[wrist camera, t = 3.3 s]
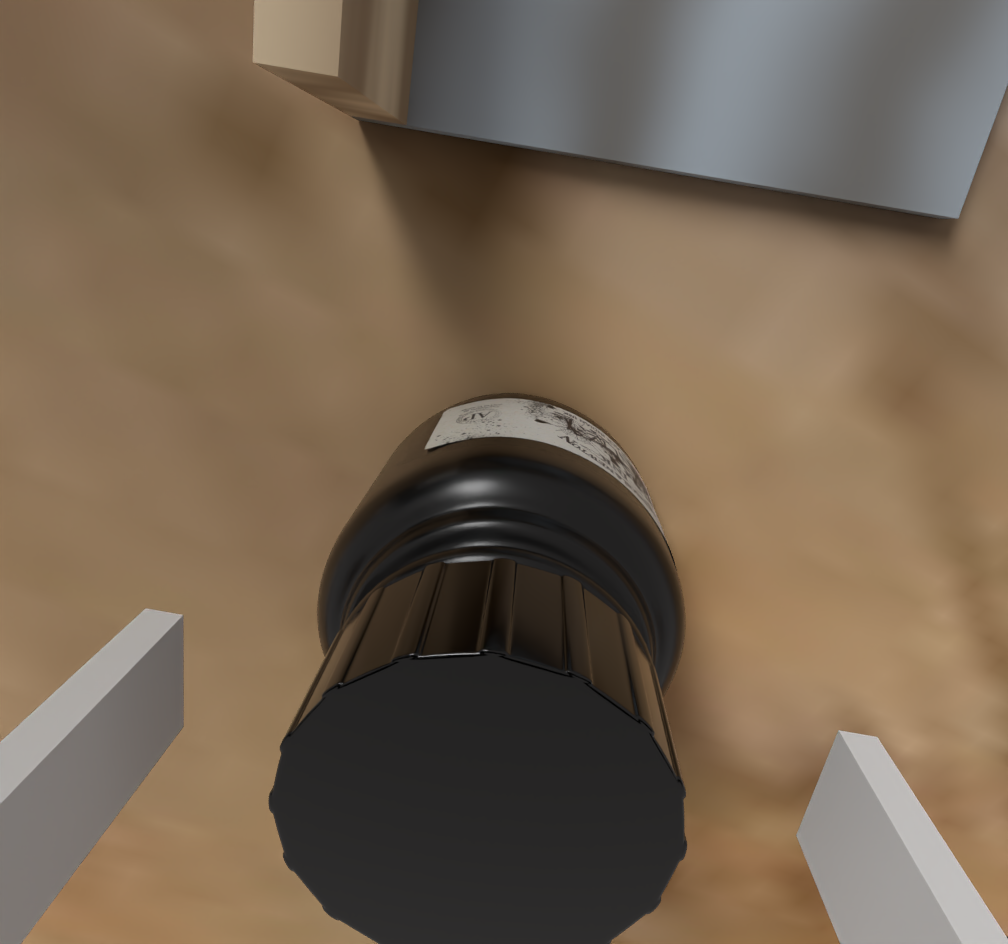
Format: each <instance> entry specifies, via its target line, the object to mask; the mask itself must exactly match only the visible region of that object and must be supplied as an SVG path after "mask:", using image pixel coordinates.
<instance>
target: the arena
mask: <svg viewBox="0 0 1008 944" xmlns="http://www.w3.org/2000/svg"><path fill="white" fill-rule="evenodd" d="M253 63H255V64H257V65H259V66H260V67H262V68H264V69H266V70H268V71H270V72H271V73H273V74H275V75H277V76H279V77H280V78H282V79H284V80H286V81H288V82H290V83H291V84H293V85H295V86H297V87H299V88H300V89H302V90H304V91H306V92H308V93H309V94H311V95H313V96H315V97H317V98H319V99H320V100H322V101H324V102H326V103H328V104H329V105H331V106H333V107H335V108H337V109H339V110H340V111H342V112H344V113H346V114H348V115H349V116H351V117H353V118H355V119H357V120H361V121H366V122H372V123H378V124H384V125H390V126H396V127H402V128H408V129H414V130H420V131H426V132H431V133H437V134H443V135H449V136H455V137H461V138H467V139H473V140H479V141H485V142H491V143H496V144H502V145H508V146H514V147H520V148H526V149H532V150H538V151H544V152H550V153H556V154H561V155H567V156H573V157H579V158H585V159H591V160H597V161H603V162H609V163H615V164H621V165H626V166H632V167H638V168H644V169H650V170H656V171H662V172H668V173H674V174H680V175H686V176H691V177H697V178H703V179H709V180H715V181H721V182H727V183H733V184H739V185H745V186H751V187H756V188H762V189H768V190H774V191H780V192H786V193H792V194H798V195H804V196H810V197H816V198H821V199H827V200H833V201H839V202H845V203H851V204H857V205H863V206H869V207H875V208H880V209H886V210H892V211H898V212H904V213H910V214H916V215H922V216H928V217H934V218H940V219H958V218H959V215H960V212H961V210H962V207H963V204H964V202H965V199H966V196H967V193H968V191H969V188H970V185H971V183H972V180H973V177H974V174H975V172H976V169H977V166H978V164H979V161H980V158H981V155H982V153H983V150H984V147H985V145H986V142H987V139H988V136H989V134H990V131H991V128H992V126H993V123H994V120H995V117H996V115H997V112H998V109H999V107H1000V104H1001V101H1002V98H1003V96H1004V93H1005V90H1006V88H1007V85H1008V0H254V28H253Z"/></svg>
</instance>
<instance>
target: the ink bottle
mask: <svg viewBox="0 0 1008 944" xmlns="http://www.w3.org/2000/svg"><path fill="white" fill-rule="evenodd" d="M317 618H318V630H319V637H320V642H321V646H322V650H323V653H324V656H325V658H324V660H323V662H322V664H321V666H320V668H319V670H318V672H317V674H316V676H315V678H314V680H313V682H312V684H311V686H310V688H309V690H308V692H307V693H306V695H305V697H304V699H303V701H302V703H301V705H300V707H299V709H298V711H297V713H296V715H295V717H294V719H293V721H292V723H291V725H290V727H289V729H288V731H287V733H286V735H285V737H284V739H283V741H282V743H281V745H280V751H281V757H280V760H279V764H278V768H277V773H276V777H275V782H274V786H273V788H272V790H271V792H270V794H269V809H270V811H271V812H272V813H273V815H274V819H275V823H276V826H277V830H278V833H279V837H280V840H281V844H282V847H283V850H284V853H283V858H284V861H285V863H286V865H287V866H288V868H289V869H290V870H291V871H293V872H295V873H296V874H297V876H298V877H299V878H300V879H301V880H302V882H303V883H304V884H305V885H306V887H307V888H308V889H309V890H310V891H311V893H312V894H313V895H314V896H315V897H316V898H317V900H318V901H319V902H320V903H321V904H322V907H323V909H324V911H325V912H326V913H327V914H328V915H329V916H331V917H332V918H334V919H336V920H340V921H342V922H343V923H345V924H347V925H348V926H350V927H352V928H353V929H355V930H357V931H358V932H360V933H362V934H363V935H365V936H367V937H368V938H370V939H372V940H373V941H375V942H377V943H378V944H610V943H611V941H612V939H614V938H615V937H617V936H618V935H619V934H621V933H622V932H623V931H625V930H626V929H627V928H629V927H630V926H631V925H633V924H634V923H635V922H636V921H638V920H639V919H640V918H642V917H643V916H644V915H645V914H649V913H651V912H653V911H654V910H655V909H656V908H657V906H658V905H659V904H660V902H661V895H662V893H663V892H664V890H665V888H666V886H667V884H668V882H669V881H670V879H671V877H672V875H673V873H674V871H675V869H676V867H677V865H678V863H679V862H680V861H682V860H683V859H684V857H685V854H686V850H687V841H686V837H685V832H684V802H683V799H684V798H685V797H686V790H685V786H684V782H683V778H682V773H681V769H680V765H679V761H678V757H677V753H676V749H675V745H674V741H673V737H672V733H671V729H670V725H669V721H668V717H667V713H666V709H665V705H664V700H663V697H664V695H665V693H666V692H667V690H668V688H669V686H670V684H671V682H672V680H673V678H674V675H675V673H676V670H677V668H678V664H679V661H680V658H681V654H682V649H683V644H684V637H685V608H684V600H683V594H682V589H681V585H680V581H679V578H678V574H677V570H676V566H675V562H674V559H673V556H672V553H671V551H670V548H669V546H668V544H667V541H666V538H665V535H664V532H663V530H662V527H661V524H660V522H659V519H658V517H657V515H656V512H655V510H654V507H653V504H652V501H651V498H650V495H649V493H648V491H647V488H646V486H645V484H644V482H643V480H642V478H641V477H640V475H639V472H638V471H637V469H636V467H635V465H634V464H633V462H632V461H631V459H630V458H629V456H628V455H627V453H626V452H625V451H624V450H623V448H622V447H621V446H620V445H619V444H618V443H617V441H616V440H615V439H614V438H613V437H612V436H611V435H610V434H609V433H607V432H606V431H605V430H604V429H603V428H602V427H600V426H599V425H598V424H597V423H595V422H594V421H592V420H591V419H589V418H588V417H586V416H585V415H583V414H581V413H580V412H578V411H576V410H574V409H572V408H570V407H568V406H566V405H563V404H561V403H558V402H556V401H553V400H550V399H546V398H542V397H538V396H533V395H527V394H518V393H501V394H491V395H485V396H480V397H476V398H472V399H469V400H466V401H463V402H460V403H458V404H455V405H453V406H451V407H448V408H446V409H445V410H443V411H441V412H439V413H437V414H436V415H434V416H432V417H431V418H429V419H428V420H427V421H425V422H424V423H422V424H421V425H420V426H419V427H417V428H416V429H415V430H414V431H413V432H412V433H411V434H410V435H409V436H408V437H407V438H406V439H405V440H404V441H403V442H402V443H401V444H400V446H399V447H398V448H397V449H396V451H395V452H394V453H393V455H392V456H391V458H390V459H389V461H388V462H387V464H386V465H385V467H384V468H383V470H382V471H381V473H380V474H379V476H378V477H377V479H376V480H375V482H374V483H373V485H372V486H371V488H370V489H369V491H368V492H367V494H366V495H365V497H364V498H363V500H362V501H361V503H360V504H359V506H358V507H357V509H356V510H355V512H354V513H353V515H352V516H351V518H350V519H349V521H348V522H347V524H346V525H345V527H344V529H343V530H342V532H341V534H340V535H339V537H338V539H337V541H336V543H335V545H334V547H333V549H332V551H331V553H330V555H329V558H328V560H327V563H326V566H325V569H324V572H323V576H322V580H321V584H320V589H319V596H318V609H317Z"/></svg>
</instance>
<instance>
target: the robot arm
mask: <svg viewBox="0 0 1008 944" xmlns="http://www.w3.org/2000/svg"><path fill="white" fill-rule="evenodd" d="M183 727H184V691H183V615H181V614H175V613H170V612H164V611H158V610H152V609H147V608H145V609H144V610H143V611H142V612H141V613H140V614H139V615H138V616H137V617H136V618H134V619H133V620H132V621H131V622H130V623H129V624H128V625H127V626H126V627H125V628H124V629H122V630H121V631H120V632H119V633H118V634H117V635H116V636H115V637H114V638H113V639H112V640H111V641H109V642H108V643H107V644H106V645H105V646H104V647H103V648H102V649H101V650H100V651H99V652H97V653H96V654H95V655H94V656H93V657H92V658H91V659H90V660H89V661H88V662H87V663H86V664H84V665H83V666H82V667H81V668H80V669H79V670H78V671H77V672H76V673H75V674H74V675H72V676H71V677H70V678H69V679H68V680H67V681H66V682H65V683H64V684H63V685H62V686H61V687H59V688H58V689H57V690H56V691H55V692H54V693H53V694H52V695H51V696H50V697H49V698H47V699H46V700H45V701H44V702H43V703H42V704H41V705H40V706H39V707H38V708H37V709H35V710H34V711H33V712H32V713H31V714H30V715H29V716H28V717H27V718H26V719H25V720H24V721H22V722H21V723H20V724H19V725H18V726H17V727H16V728H15V729H14V730H13V731H12V732H10V733H9V734H8V735H7V736H6V737H5V738H4V739H3V740H2V741H1V742H0V944H21V943H22V942H23V940H24V939H25V938H26V936H27V935H28V934H29V932H30V931H31V930H32V928H33V927H34V926H35V924H36V923H37V922H38V920H39V919H40V918H41V916H42V915H43V914H44V912H45V911H46V910H47V908H48V907H49V906H50V904H51V903H52V902H53V900H54V899H55V898H56V896H57V895H58V893H59V892H60V891H61V889H62V888H63V887H64V885H65V884H66V883H67V881H68V880H69V879H70V877H71V876H72V875H73V873H74V872H75V871H76V869H77V868H78V867H79V865H80V864H81V863H82V861H83V860H84V859H85V857H86V856H87V855H88V853H89V852H90V851H91V849H92V848H93V847H94V845H95V844H96V843H97V841H98V840H99V839H100V837H101V836H102V835H103V833H104V832H105V831H106V829H107V828H108V827H109V825H110V824H111V823H112V821H113V820H114V819H115V817H116V816H117V815H118V813H119V812H120V811H121V809H122V808H123V807H124V805H125V804H126V803H127V801H128V800H129V799H130V797H131V796H132V795H133V793H134V792H135V791H136V789H137V788H138V787H139V785H140V784H141V783H142V781H143V780H144V779H145V777H146V776H147V775H148V773H149V772H150V771H151V769H152V768H153V767H154V765H155V764H156V763H157V761H158V760H159V759H160V757H161V756H162V755H163V753H164V752H165V751H166V749H167V748H168V747H169V745H170V744H171V743H172V741H173V740H174V739H175V737H176V736H177V735H178V733H179V732H180V731H181V729H182V728H183ZM796 836H797V839H798V841H799V844H800V846H801V848H802V851H803V853H804V856H805V858H806V861H807V863H808V866H809V868H810V871H811V873H812V875H813V878H814V880H815V883H816V885H817V888H818V890H819V893H820V895H821V898H822V900H823V903H824V905H825V907H826V910H827V912H828V915H829V917H830V920H831V922H832V925H833V927H834V930H835V932H836V935H837V937H838V939H839V942H840V944H1008V937H1007V936H1006V935H1005V934H1004V932H1003V931H1002V929H1001V928H1000V926H999V925H998V923H997V921H996V920H995V918H994V917H993V915H992V914H991V912H990V911H989V909H988V908H987V906H986V904H985V903H984V901H983V900H982V898H981V897H980V895H979V894H978V892H977V891H976V889H975V887H974V886H973V884H972V883H971V881H970V880H969V878H968V877H967V875H966V874H965V872H964V870H963V869H962V867H961V866H960V864H959V863H958V861H957V860H956V858H955V857H954V855H953V853H952V852H951V850H950V849H949V847H948V846H947V844H946V843H945V841H944V840H943V838H942V836H941V835H940V833H939V832H938V830H937V829H936V827H935V826H934V824H933V823H932V821H931V819H930V818H929V816H928V815H927V813H926V812H925V810H924V809H923V807H922V806H921V804H920V802H919V801H918V799H917V798H916V796H915V795H914V793H913V792H912V790H911V789H910V787H909V785H908V784H907V782H906V781H905V779H904V778H903V776H902V775H901V773H900V772H899V770H898V768H897V767H896V765H895V764H894V762H893V761H892V759H891V758H890V756H889V755H888V753H887V751H886V750H885V748H884V747H883V745H882V744H881V742H880V741H879V739H878V738H877V737H874V736H868V735H863V734H857V733H851V732H846V731H840V730H838V733H837V735H836V738H835V740H834V743H833V745H832V748H831V750H830V753H829V755H828V758H827V760H826V763H825V765H824V768H823V770H822V773H821V775H820V778H819V780H818V783H817V785H816V787H815V790H814V792H813V795H812V797H811V800H810V802H809V805H808V807H807V810H806V812H805V815H804V817H803V820H802V822H801V825H800V827H799V830H798V832H797V835H796Z"/></svg>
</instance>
